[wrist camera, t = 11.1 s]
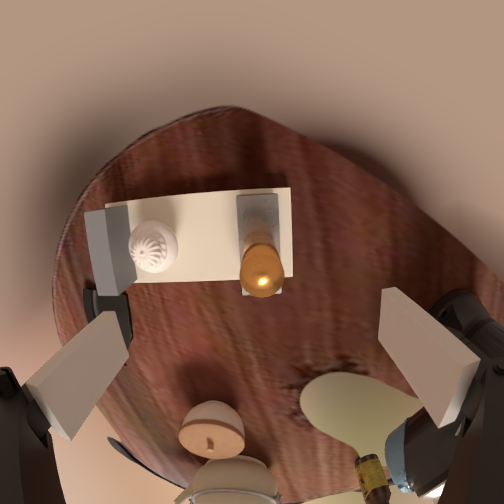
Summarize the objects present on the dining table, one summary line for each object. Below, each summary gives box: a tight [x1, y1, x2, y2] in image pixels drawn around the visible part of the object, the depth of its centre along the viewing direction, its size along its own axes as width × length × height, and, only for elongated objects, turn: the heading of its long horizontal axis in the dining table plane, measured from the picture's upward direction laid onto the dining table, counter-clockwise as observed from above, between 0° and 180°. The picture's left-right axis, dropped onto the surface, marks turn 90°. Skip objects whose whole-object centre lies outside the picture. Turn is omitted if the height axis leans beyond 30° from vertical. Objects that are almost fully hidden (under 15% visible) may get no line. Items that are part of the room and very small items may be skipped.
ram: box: [236, 193, 285, 297], centre depth 26 cm, size 4×10×15 cm, turn 3°
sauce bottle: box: [355, 454, 391, 504], centre depth 38 cm, size 6×6×20 cm
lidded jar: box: [178, 401, 245, 459], centre depth 38 cm, size 11×11×9 cm
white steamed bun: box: [128, 220, 178, 273], centre depth 30 cm, size 6×6×7 cm
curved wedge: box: [83, 288, 133, 366], centre depth 39 cm, size 8×14×2 cm, turn 175°
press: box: [84, 188, 293, 296], centre depth 31 cm, size 24×11×8 cm, turn 93°
